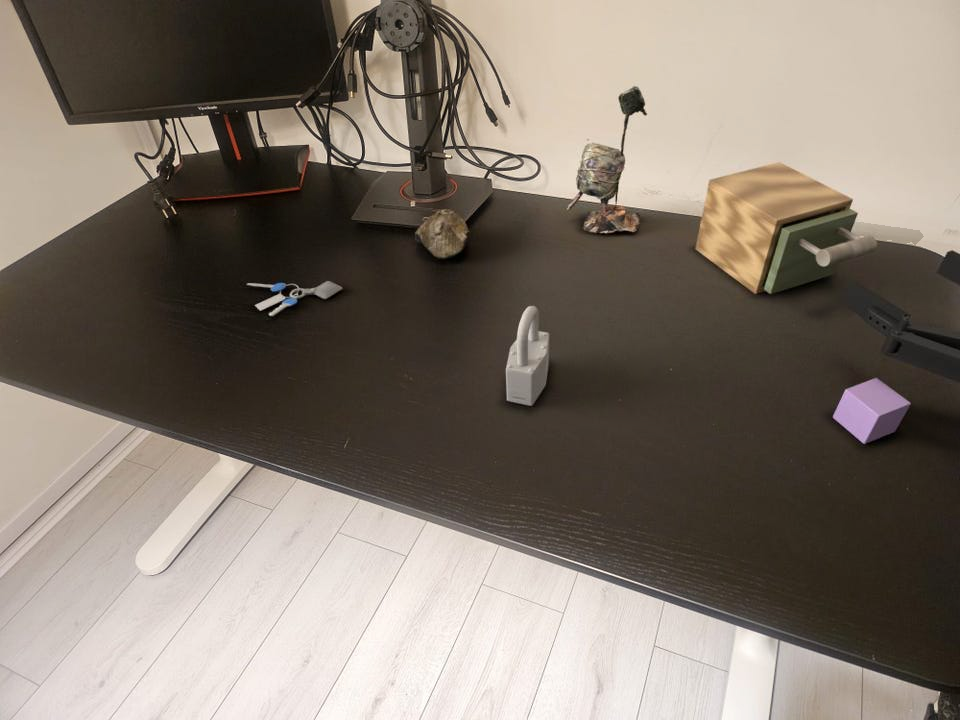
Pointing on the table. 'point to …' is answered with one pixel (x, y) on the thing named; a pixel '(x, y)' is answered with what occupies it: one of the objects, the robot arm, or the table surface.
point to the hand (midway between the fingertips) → (897, 276)
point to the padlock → (527, 360)
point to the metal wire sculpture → (608, 175)
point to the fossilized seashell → (443, 234)
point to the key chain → (321, 291)
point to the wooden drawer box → (758, 217)
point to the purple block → (871, 410)
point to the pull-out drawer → (814, 249)
